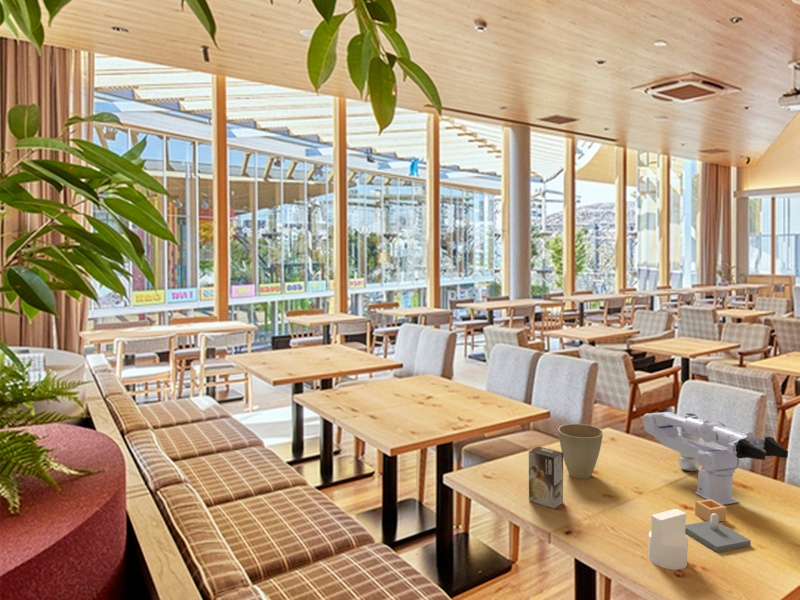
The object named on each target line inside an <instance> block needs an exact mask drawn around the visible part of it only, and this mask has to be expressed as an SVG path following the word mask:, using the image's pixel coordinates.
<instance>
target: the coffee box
mask: <svg viewBox="0 0 800 600" xmlns="http://www.w3.org/2000/svg"><path fill="white" fill-rule="evenodd" d="M528 501H529V502H532V503H536V504H539V505H542V506H545V507H548V508H552V509H556V508H558V507H560V505H562V504H563V503H564V458H563V452H562V451H558V450H555V449H551V448H550V449H549V448H546V447H542V446H535V447H533V448H532V449H530V450H529V451H528Z"/></svg>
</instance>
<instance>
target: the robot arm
mask: <svg viewBox="0 0 800 600" xmlns="http://www.w3.org/2000/svg"><path fill="white" fill-rule="evenodd" d="M642 426H643V428H644V429H645V432H646V433H647V434H650V435H652V436H653V437H654V438H655V439H656V440H657V441H658V442H660V444H661V445H663V447H666V448H668V449H670V450H673V451H675V452H677V453H682V454H684V455H687V456H689V457H692V458H694V459H696V460H697V462H698V464H699V466H701V467H700V468H699V469H700V470H698V472H697V473H698V474H697V491H695V494H696V495H698V496H699V497H701V498H703V499H704V500H708V499H712V500H714V501H716V502H717V503H719V504H721V505H723V506H725V505H729V504H730V505H732V504H735V503H739V502H740V501H739V500H738V499H736V498H734V497H733V485H734V484H733V482H734V474H735V473H736V470H737V469H738V468H739V467H740V463H741V460H740V459H754V460H760V461H761V460H762V461H764V460H766V457H778V458H781V459H788V456H789V451H788V450H787V449H786V448H785V447H783V446H782V445H780V444H779V443H778V442H777V441H776V439H774V437H771V436H765V437H764V439H763V438H760V437H757V436H755V435H754V432H753V431H746V432H745V433H743V432H742V431H739V430H735V429H733V428H730V427H727V426H726V425H725V424H724V423H723V422H721V421H713V422H711V421H710V420H709V419H702V418H699V416H698V415H697V416H692V417H689V418H685V416H682V415H678V414H676V413H674V412H673V411H663V412H653V413H648V412H647V413H645V414H644V415H643V416H642ZM678 428H679V429H680V428H684V429H685V431H686V432H687V433H689V434H692V435H695V436H698V437H700V439H702V440H703V442H704V443H705V444H706V443H712V442H714V444H715V443H716V444H718V445H721V446H723V447H725V449H724V448H720V447H710V446H708V445H705V444H702V443H700V442H699V443H698V442H695V441H692V440H690V439H687V438H684V437H682V436H681V435H679V430H678Z"/></svg>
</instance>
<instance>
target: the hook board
mask: <svg viewBox="0 0 800 600" xmlns="http://www.w3.org/2000/svg"><path fill="white" fill-rule="evenodd" d="M685 534H687V535H689V537H692V538H693V539H695V540H696V541H698V542H700V543H701V544H702V545H704V546H706V547H707V548H709V549H711V550H712V551H713V552H715V553H721V552H727V551H732V550H736V549H737V550H738V549H742V548H746V547H750V546H751V544H752V543H751V542H752V541H751V539H749V538H747V537H745V536H744V535H742V534H740V533H739V532H736V531H735V530H733V529H732V528H730V527H728V526H726V525H724V524H723V523H720V522H719V516H718V515H717V514H716V513H712V514H711V518H710V521H705V520H704V521H700V522H695V523H690V524H686V526H685Z"/></svg>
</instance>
